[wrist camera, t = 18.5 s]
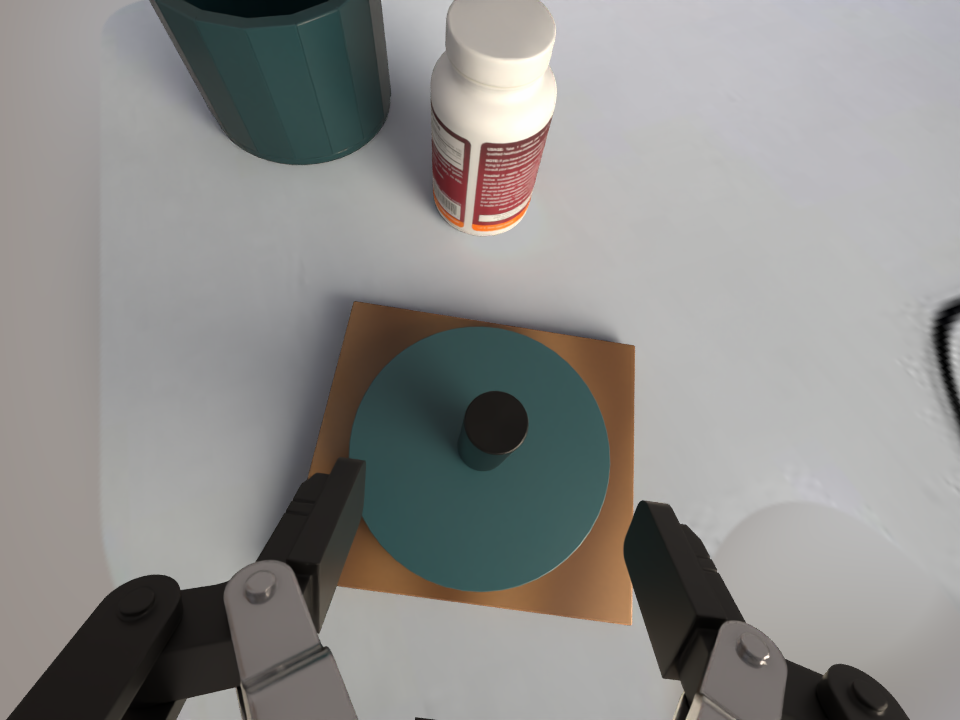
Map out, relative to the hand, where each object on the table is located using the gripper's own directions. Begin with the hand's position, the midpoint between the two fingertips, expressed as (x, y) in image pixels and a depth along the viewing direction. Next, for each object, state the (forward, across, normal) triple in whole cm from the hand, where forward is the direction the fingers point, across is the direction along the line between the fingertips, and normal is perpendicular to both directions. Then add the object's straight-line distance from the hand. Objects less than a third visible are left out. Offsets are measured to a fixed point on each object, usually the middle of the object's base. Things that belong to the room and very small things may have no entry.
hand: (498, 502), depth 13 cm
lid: (+8, 0, +4) cm, 9 cm away
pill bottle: (+21, +2, -6) cm, 22 cm away
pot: (+25, +15, -11) cm, 31 cm away
